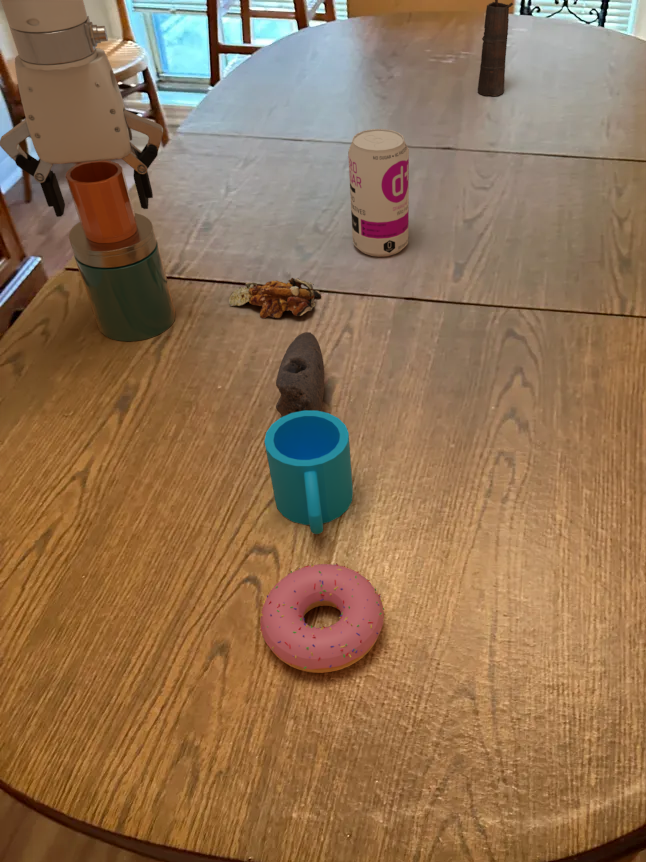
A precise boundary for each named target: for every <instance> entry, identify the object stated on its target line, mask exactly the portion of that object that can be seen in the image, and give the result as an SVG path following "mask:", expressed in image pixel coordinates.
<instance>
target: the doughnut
mask: <svg viewBox="0 0 646 862" xmlns="http://www.w3.org/2000/svg"><path fill="white" fill-rule="evenodd" d="M370 581H371V580H370V579H367V578H366V577H365V576H364V575H362V574H361V573H360V571H356V570H354V569H351V568H349V567H346V566H345V565H343V566H342V565H339V564H338V562H337V563H335V564H331V563H319V564H313V563H311V564H310V565H305V566H303V567H301V568H300V567H298V568H296V569H295V570H294V571H292V570H290V573H288V574H287V575H285V576H284V577H283V578H281V579H280V580H279V581H278V582H277V583H275V585H274V586H273V587H272V588H271V590H270V591H269V593H268V594H267V595H266V598H265V601H264V600H262V603H263V605H262V608H261V612H260V614H259V615H258V616H259V618H260V619H259V621H260V623H259V624H260V630H259V631H260V632H261V634H262V638H263V640H264V641H265V643H266V645H267V646H268V647H269V649H270V650H271V652H272V653H273V654H274V655H275V656H276V657H277V658H278V659H279V660H280V661H281V662H283V663H284V664H286V665H288V666H290V667H291V668H294V669H297V670H300V671H302V672H307V673H316V674H321V673H322V674H323V673H331V672H336V671H340V670H343V669H347V668H348V667H350V666H352V665H354V664H356V663H357V662H358V661H360V660H361V659H363V658H364V657H365V656H366V655H368V653H369V652H370V651H371V650H372V648H373V647H374V646H375V644H376V642H377V641H378V639H379V636H380V633H381V631H382V628H383V627H384V621H385V619H384V618H385V608H384V605H383V602H384V599H381V595H382V594H381V593H379V592H378V591H377V588H376V587H374V586H373V585H372V583H371V582H370ZM317 607H333V608H335V609H337V610H338V611H339V612H340V615H339V616H338V619H339V620H338V621H336V622H335V623H334V624H330V625H329V626H327V627H326V626H324V625H323V626H322V627H316V626H313V625H309V624H308V623H306V622H305V615H306V614H307V613H308V612H310V611H311V610H313V609H314V608H317Z"/></svg>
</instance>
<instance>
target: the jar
mask: <svg viewBox="0 0 646 862" xmlns="http://www.w3.org/2000/svg"><path fill="white" fill-rule="evenodd" d="M73 257H74V260H75V264H76V266H77V269H78V272H79V275H80V277H81V281H82V284H83V287H84V289H85V293H86V296H87V298H88V302H89V304H90V307H91V310H92V313H93V316H94V319H95V322H96V324H97V327H98V330H99V331H100V333H101V334H102V335H103V336H105V337H106V338H108V339H111V340H114V341H120V342H139V341H144V340H149V339H151V338H154V337H157V336H158V335H161V334H162V333H165V332H166V331H167V330H168V329H169V328H170V327H172V325H173V324H174V322H175V320H176V309H175V306H174V302H173V298H172V295H171V294H172V293H171V290H170V285H169V282H168V278H167V274H166V270H165V266H164V262H163V257H162V254H161V250H160V246H159V242H158V240H157V239H156V247H155V249H154V250H153V252H152V253H151V254H149V255H148V256H147V257H145V258H144V259H142V260H140V261H137V262H135V263H132V264H129V265H125V266H120V267H112V268H100V267H92V266H88V265H86V264H83V263H81V262H80V261H79V260H78V259H77V258H76V257H75V255H74V254H73Z"/></svg>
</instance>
